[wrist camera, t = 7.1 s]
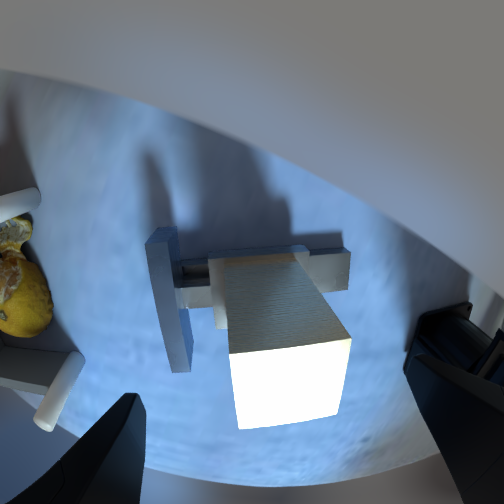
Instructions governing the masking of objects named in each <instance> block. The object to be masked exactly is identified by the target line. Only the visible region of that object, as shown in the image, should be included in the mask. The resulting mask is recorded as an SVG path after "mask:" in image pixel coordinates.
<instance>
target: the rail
mask: <svg viewBox="0 0 504 504" xmlns="http://www.w3.org/2000/svg"><path fill="white" fill-rule="evenodd" d="M309 251H310V253H309V278H310V279H311V280H312V282H313V283H314V285H315V286H316V287H317V289H318V290H319V292H320V293H325V292H333V291H341V290H348V281H349V269H350V256H351V252H350V251H348V250H347V249H346V248H344V247H341V248H328V249H316V250H309ZM181 265H182V273H183V280H190V279H203V278H210V275H209V265H208V258H201V259H188V260H181Z"/></svg>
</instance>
